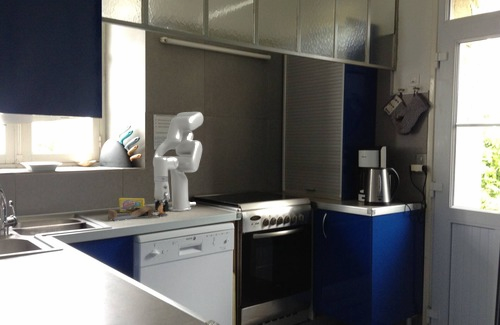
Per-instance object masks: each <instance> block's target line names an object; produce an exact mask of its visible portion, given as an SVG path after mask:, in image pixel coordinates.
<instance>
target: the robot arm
mask: <svg viewBox="0 0 500 325" xmlns="http://www.w3.org/2000/svg"><path fill="white" fill-rule="evenodd" d="M203 122H204V115H203V114H202V112H200V111H186V112H185V111H184V112H179V113H177V114H176V116H175V117H173V118H172V119H171V121H170V123H169V127H168V131H167V134H166V139H164V141H162V142H161V143H160V144H159V146H158V147H157V148H156V149H155V151H154V155H153V159H152V166H153V183H154V194H153V196H154V210H155V211H158V207H159V206H160V205H163V212H166V213H168V212H170V211H172V212H184V211H190V210H192V207H191V206H196V205H197V203H196V201H192V202H191V201H189V181H188V177H187V176H186V174H185V173H195V172H197V171H198V170H199V167H200V163H201V162H200V161H201V158H202V154H203V145H202V143H201V141H200V140H193V139H194V133H193V131H195V130H196V129H198V128H199V127H201V126H202V125H203ZM174 148H175V153H176V156H172V155H171V156H166V155H165V154H166V153H167V152H168V151H169V150H172V149H174ZM164 155H165V156H164ZM169 171H170V177H171V178H170V180H171V197H170V186H169V185H170V184H169ZM170 200H171V207H169V204H170ZM161 202H162V203H161Z"/></svg>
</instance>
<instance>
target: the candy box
mask: <svg viewBox="0 0 500 325" xmlns="http://www.w3.org/2000/svg"><path fill="white" fill-rule="evenodd" d="M145 202H146V201H145V198H141V197H140V198H137V197H136V198H135V197H134V198H133V197H120V198H118V203H119V204H118V205H119V213H132V212H134V211H136V210H138V209H140V208H142V207H143V206H145Z"/></svg>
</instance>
